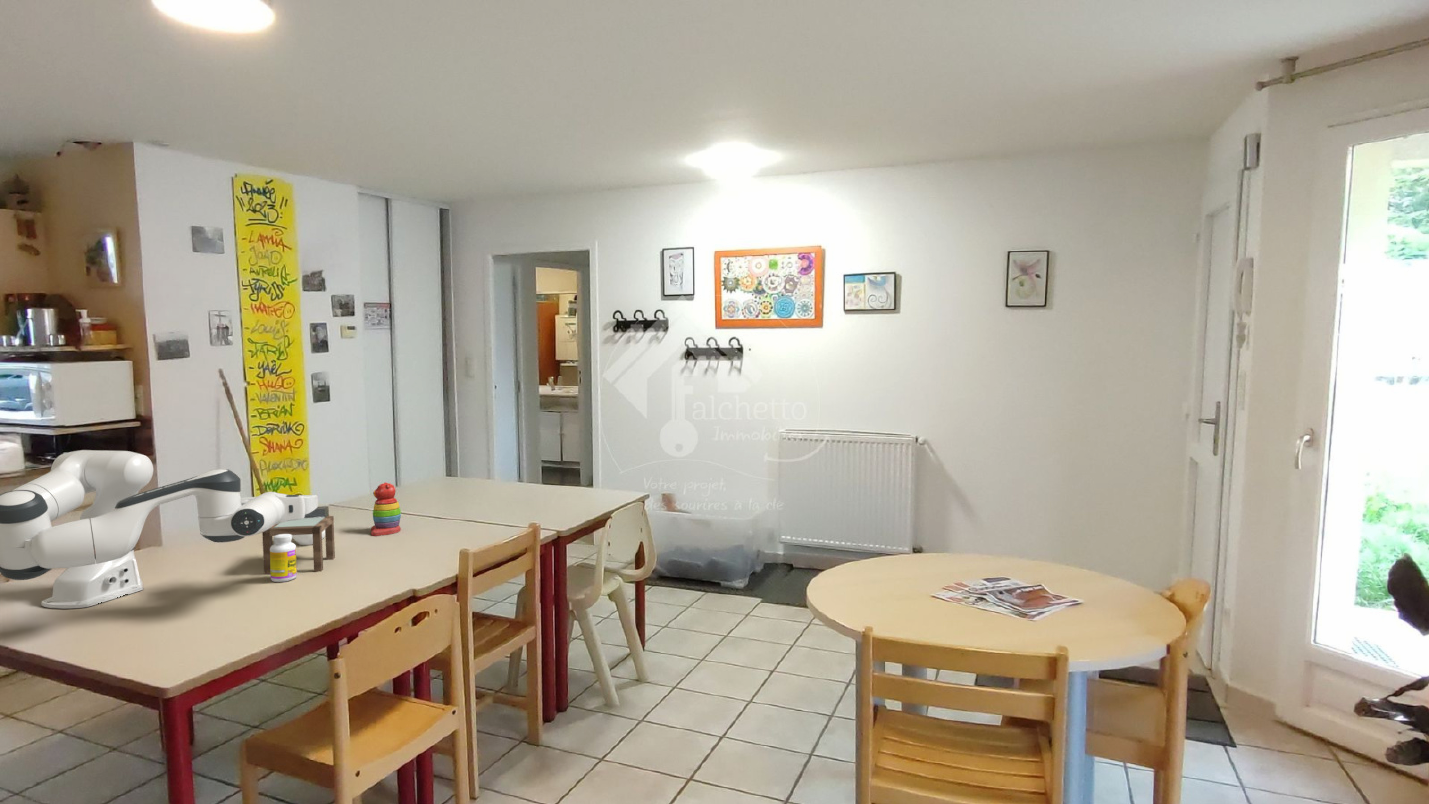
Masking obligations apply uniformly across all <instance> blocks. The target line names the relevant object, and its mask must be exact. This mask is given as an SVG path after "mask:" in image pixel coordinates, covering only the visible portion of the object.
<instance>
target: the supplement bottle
mask: <svg viewBox="0 0 1429 804" xmlns="http://www.w3.org/2000/svg"><path fill="white" fill-rule="evenodd" d="M272 537H273V545H272V546H271V547H270V573H271V574H270V580H271V581H272V582H274V583H275V582H276V583H284V582H289V581H292V580H295V579H296V578H297V576H298V574H297V573H298V571H297V570H298V569H297V568H298V567H297V545H296V543H294V542H292V540H293V538H292V535H291V534H280V535H276V536H272Z"/></svg>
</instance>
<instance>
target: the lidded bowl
mask: <svg viewBox="0 0 1429 804" xmlns="http://www.w3.org/2000/svg"><path fill="white" fill-rule="evenodd" d="M329 516H331V515H330V514H329ZM325 539H326V538H325V530H324V531H323V532H322V541H323V540H325ZM292 540H293V541H294V542H296V543H297V545H299V546H313V534H307V535H292Z"/></svg>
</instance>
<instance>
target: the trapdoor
mask: <svg viewBox="0 0 1429 804" xmlns="http://www.w3.org/2000/svg"><path fill="white" fill-rule="evenodd" d="M329 509H330V508H329V506H327V505H326V506H318V507H317V508H316V509H315V510H314V511H312V512H311V513H309V514H306V515H305V517H304V518H303V519H298V520H291V521H285V522H282V523H279V524H278V525H277V526H275V527H274V528H279V527H303V526H315V525H316V524H318V523H319V522H320V521H321V520H323V519H324V518H325V517H326V516H329V515H330V513H329V511H330V510H329Z"/></svg>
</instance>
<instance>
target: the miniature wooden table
mask: <svg viewBox="0 0 1429 804" xmlns="http://www.w3.org/2000/svg"><path fill="white" fill-rule="evenodd" d="M334 518H335V517H334V515H330V516H326V517H325V518H324V519H323V520H321V521H320V522H319V523H318V524H316V525H315V526H303V527H279V528H274V527H275V526H277V525H278V524H275V525H273V526H272V527H271V528H269V529H268V530H266V531H264V532H262V533H261V534H262V552H263V553H262V555H263V572H264V573H263V574H264V575H271V573H270V547H271V546H272V545H274V541H273V537H274V536H276V535H280V534H291V535H307V534H313V545H312V552H313V553H312V554H313V555H312V556H313V573H317V572H318V571H320V572H322V571H323V570H324V557H323V556H324V555H323V540H322V532H323V531H324V530H325V538H324V539H325V558H326V559H325V560H327V561H328V560H334V559H335V558H336V554H335V553H336V551H335V549H336V548H335V527H334V526H335V525H334V522H335V520H334ZM318 573H319V572H318Z"/></svg>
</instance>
